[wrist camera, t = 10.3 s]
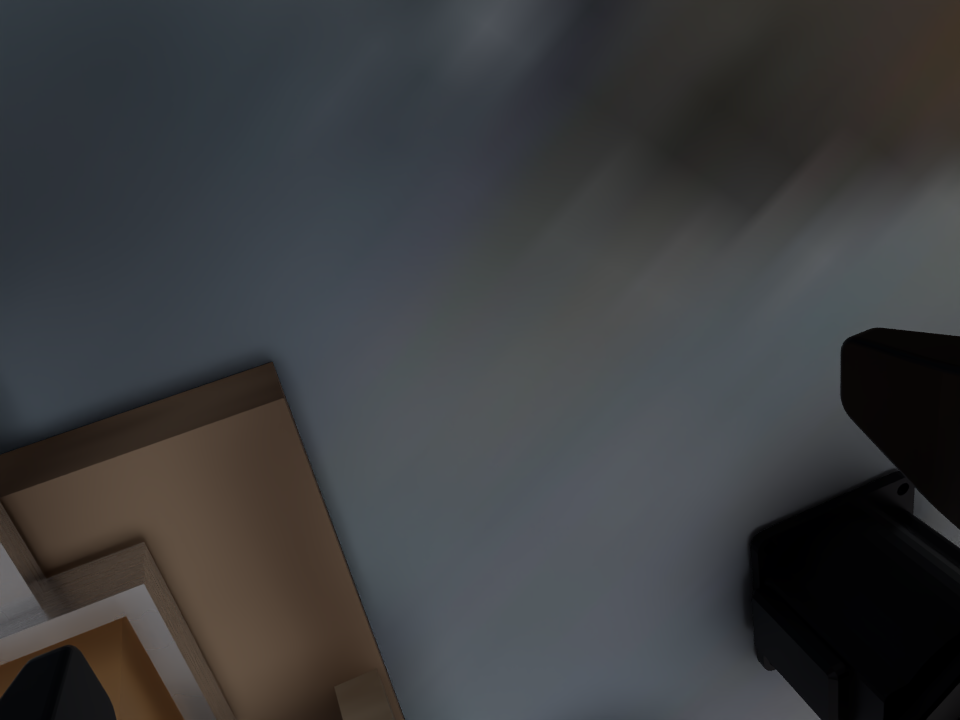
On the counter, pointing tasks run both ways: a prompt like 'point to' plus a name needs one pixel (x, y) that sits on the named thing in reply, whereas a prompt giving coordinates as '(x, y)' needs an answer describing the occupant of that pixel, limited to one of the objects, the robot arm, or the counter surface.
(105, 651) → the block
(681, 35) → the counter surface
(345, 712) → the miniature wooden bench
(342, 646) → the track board
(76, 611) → the slider
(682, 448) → the counter surface
